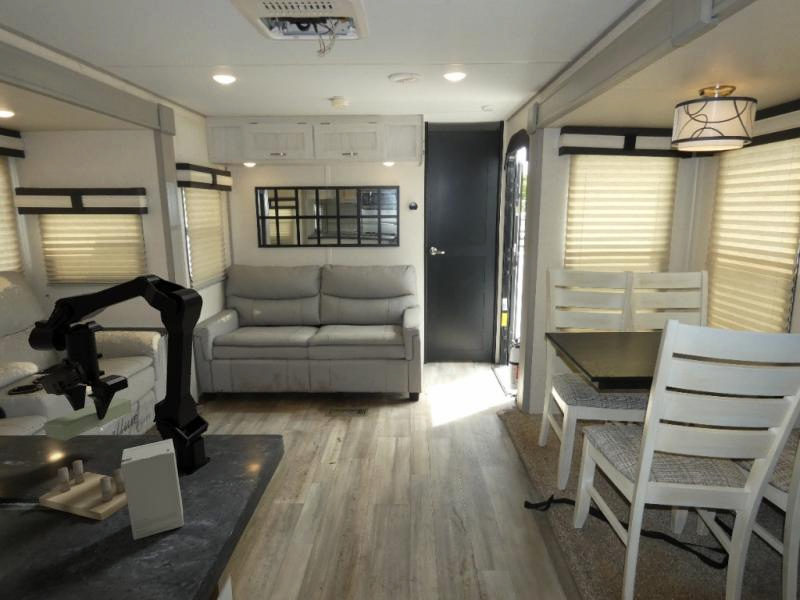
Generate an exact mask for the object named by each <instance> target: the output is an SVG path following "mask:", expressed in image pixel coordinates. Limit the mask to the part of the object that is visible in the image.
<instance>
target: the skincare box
mask: <svg viewBox="0 0 800 600" xmlns="http://www.w3.org/2000/svg"><path fill="white" fill-rule="evenodd" d="M120 468H121V470H122V475H123V481H124V487H125V492H126V498H127V504H126V505H127V508H128V515H129V519H130V520H129V521H130V526H131V532H132V537H133V540H134V541H136V540H139V539H142V538H146V537H150V536H153V535H156V534H160V533H163V532H166V531H171V530H174V529H177V528H180V527H183V526H184V524H185V523H184V508H183V500H182V495H181V494H182V493H181V487H180V482H179V481H180V480H179V474H178V471H177V465H176V458H175V451H174V446H173V440H172V439H168V440H164V441H163V440H161V441H157V442H152V443H146V444H143V445H137V446H134V447H128V448H125V449H123V451H122V457H121V462H120Z"/></svg>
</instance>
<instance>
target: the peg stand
mask: <svg viewBox="0 0 800 600" xmlns="http://www.w3.org/2000/svg"><path fill="white" fill-rule="evenodd" d="M72 469H73V476H74V478H73V479H71V480H70V476H69V474H70V473H69V469H68V467H67V466H65V467H60V468H58V469H57V474H58V481H59V482H58V483H59V486H58V487H57V488H55V489H52V490H50V491H49V492H48V493H45V494H44V495H41V496H40V497H38V500H39V502H38V503H39V505H40V506H42V507H45V508H50V509H55V510H58V511H61V512H67V513H71V514H74V515H78V516H83V517H86V518H90V519H95V520H98V521H103V520H105V519H107V518H108V517H109V516H111V515H113V514H114V513H116V512H117V511H119V510H121V508H123V507H125V506H126V505H128V504H127V498H126V492H125V487H124V481H123V475H122V470H121V467H119V468H116V469H115V470H113V474H114V475H113V476H114V477H113V476H109V475H103V474H99V473H94V472H89V471H86V472H84V466H83V460H82V459H78V460H74V461H72Z"/></svg>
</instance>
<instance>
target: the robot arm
mask: <svg viewBox="0 0 800 600" xmlns="http://www.w3.org/2000/svg"><path fill="white" fill-rule="evenodd" d="M140 297H141V298H142V299H144V300H145V301H146V302H147V304H148V305H149V306H150V307H151V308H153V309H155V310H156V311H159V314H160V321H161V322H162V324H163V326H164V328H165V329H166V331H167V346H166V347H167V348H166V349H167V351H166V352H167V353H166V375H165V376H166V378H165V379H166V381H165V396H164V398H163V399H161V400H160V401H158V402H157V403H155V404H154V408H153V411H154V417H153V420H152V422H153V423H155V428H156V431H157V432H159V434H160V437H161V439H162V441H164V440H168V439H172V440H173V446H174V451H175V458H176V465H177V472H181V473H186V474H193V473H194V472H196V471H197V470H199V469H200V468H202V467H203V466H205V464H207V463H209V462H210V461H212V457H210V456H206V448H205V439H204V437H203V436H202V435H203V434H204V433H206V432H207V431H208V428H209V425H210V423H209V422H208V421H207V419H206V418H205V417H203V416H202V415H201V414H200V413H199V412H198V409H197V402H196V400H195V398H194V397H193V395H192V393H191V385H192V384H191V381H192V380H191V379H192V364H193V363H192V361H193V360H192V358H193V339H194V338H193V337H194V335H193V334H194V330H195V327H196V326H197V324H198V322H199V321H200V318H201V314H202V309H203V303H204V302H203V301H204V300H203V297H202V295H201V294H200V293H199V292H198V291H197V290H195V289H194V288H189V287H188V288H187V287H185V286H183V285H182V284H178V283H176V282H172V281H170V280H166V279H164V278H162V277H160V276H158V275H157V274H146V275H139V276H137V277H135V278H134V279H131V280H128V281H126V282H122V283H120V284H116V285H113V286H111V287H108V288H105V289H102V290H99V291H96V292H88V293H87V292H86V293H80V294H77V295H76V294H74V295H71V296H66V297H65V296H64V297H61V298H58V299H56V301H54V308H53V310H52V311H51V314H50V316H49V317H48V319H41V320H37V321H34V327H33V328H32V330H31V331H30V333H29V337H28V338H27V340H28V344H29V347H30V348H31V349H32V350H35V351H38V352H39V351H40V352H41V351H45V352H64V351H65V353H66V354H65V355H66V356H65V357H63V358H61V361H60V364H61V366H60V367H59V368H57V369H55V370H53V371H52V372H51V373H49V374H47V375H46V376H45V377H43V378H42V379H41V380H40V381H39V383H40V384H41V386H42V388H43V389H44V391H45V392H46V394H47V395H55V396H58V397H59V396H62V395H63V396H64V397H65V399H67V401H68V403H69V404H70V407H71V408H72V409H73V412H74V411H77V410H80V409H82V408H85V407H86V406H85V405H86V397H88V398H90V399H92V400H93V402H94V403H93V404H95V408H96V412H97V416H98V419H99V420H102V419H104V418H105V415H106V413H107V410H108V408H109V405H110V403H111V401H112V399H113V397H115V394H116V393H118V392H120V391H123V390H125V389H127V388H129V381H128V377H126V376H124V375H119V374H110V375H107V376H105V375H106V374H105V370H101V369H100V362H99V359H103V353H102V352H98V347H97V340H96V333H97V332H99V331H100V332H101V331H103V330H104V326H102V325H101V324H99V323H98V322H96V320H90V319H93V318H94V317H97V316H98V315H99V314H102V313H103V312H104V311H105V310H107V309H108V308H109V307H113V306H116V305H119V304H121V303H124V302H127V301H131V300H133V299H134V300H135V299H137V298H140ZM86 320H90V321H86ZM83 321H86V322H85V323H82V322H83ZM71 325H72V326H71ZM103 376H104V377H103ZM100 377H102V378H100ZM87 387H90V388H91V392H92V393H89V394H87Z"/></svg>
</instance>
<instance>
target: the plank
mask: <svg viewBox="0 0 800 600" xmlns="http://www.w3.org/2000/svg"><path fill="white" fill-rule="evenodd" d="M132 410H133V409H132V400H131V399H128V398H122V397H116V396H114V397H113V399H112V401H111V403H110V405H109V408H108V410H107V413H106V415H105V418H104V419H102V420H99V419H98V416H97V412H96V408H95V404H94V403H93V404H89V405H88V406H85V407H84V408H82V409H80V410H77V411H74V410H73V411H71V412H69V413H67V414H64V415H61V416H59V417H56V418H54V419H51V420H49V421H46V422H44V423H43V424H44V425H43V426H44V432H45V437H46V438H47V437H48V438H51V439H55V440H60V441H64V442H65V441H67V440H69V439H72V438H74V437H77V436H79V435H81V434H84V433H86V432H88V431H90V430H91V431H92V430H93V429H95V428H98V427H100V426H102V425H104V424H107V423H109V422H111V421H113V420H116V419H119V418H121V417H123V416H125V415H128V414H130V413H132V412H133V411H132Z"/></svg>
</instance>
